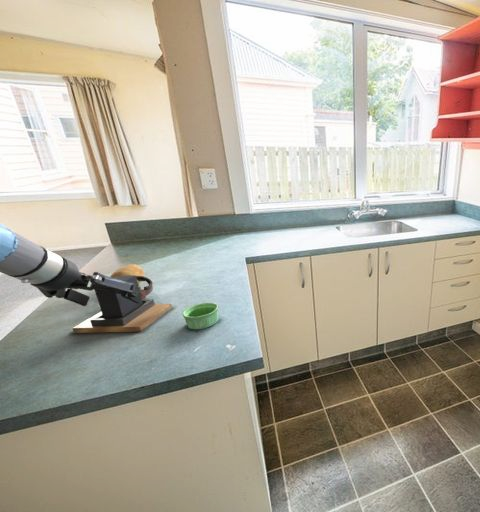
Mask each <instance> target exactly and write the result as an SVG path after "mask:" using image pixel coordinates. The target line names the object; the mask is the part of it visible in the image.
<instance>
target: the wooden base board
mask: <svg viewBox="0 0 480 512" xmlns="http://www.w3.org/2000/svg"><path fill="white" fill-rule="evenodd" d="M142 301H143V304H142V305H141V306H139V307H138V308H136V309H134V310H133V311H131V312H130V313H128V314H127V315H125V316H124V317H122V318H104V317H103V314H102V311H101V310H100V312H98V313H96V314H94V315H93V316H91V317H89V318H88V319H86V320H83V321H82V322H80V323H79V324H77V325H75V326H74V327H72V328H71V329H72V332H73V333H74V334H79V333H80V334H81V333H82V334H83V333H85V334H87V333H127V332H129V333H130V332H131V333H132V332H142V331H144V330H145V329H146V328H147V327H149V326H150V325H152V324H153V323H154V322H155V321H157V320H158V319H159V318H161V317H162V316H164V314H166V313H168V312H169V311H170V310H171V309H172V308H173V305H172V303H155V301H154V298H153V299H152V298H150V299H149V298H148V299H147V298H146V299H145V298H144V299H142Z"/></svg>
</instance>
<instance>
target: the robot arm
mask: <svg viewBox="0 0 480 512" xmlns="http://www.w3.org/2000/svg"><path fill="white" fill-rule="evenodd" d="M0 273H2V274H4V275H6V276H8V277H11V278H14V279H16V280H19V281H20V282H21V283H22V284H30V286H33V287H35V288H36V289H38V290H39V291H40V293H42V294H43V296H44V297H46V298H49V299H52V298H53V297H55V298H56V299H63V300H67V301H69V302H71V303H74V304H77V305H80V306H82V307H87V306H88V303H89V301H90V298H91V297H90V296H89V295H86V294H85V293H82V292H80V291H77V290H84V291H89V292H91V291H95V290H100V291H106V292H111V293H117V294H121V296H122V297H123V298H126V299H128V300H131V301H133V302H135V303H140V300H141V296H142V294H140V293H139V292H137V291H135V287H136V284H133V283H129V282H126V281H122V280H119V279H115V278H112V277H110V276H108V275H105V274H103V273H100V272H98V271H94V272H93V273H92V275H90V274H86V273H84V272H81V271H80V270H79V268H78V266H77V265H76V264H75V263H74V262H73V261H72V260H68V259H67V258H65V257H63V256H61V255H59V254H58V253H55V252H54V251H51V250H50V249H47V248H46V247H44V246H42V245H39V244H37V243H35V242H33V241H32V240H30V239H28V238H26V237H24V236H23V235H21V234H19V233H18V232H16V231H14V230H12V229H11V228H10V227H8V226H6V225H4V224H3V223H1V222H0ZM89 283H90V286H88V285H89ZM94 289H95V290H94Z"/></svg>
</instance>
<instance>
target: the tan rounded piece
mask: <svg viewBox="0 0 480 512" xmlns="http://www.w3.org/2000/svg"><path fill="white" fill-rule="evenodd" d="M145 274H146V273H145V271H144V269H143V268H142V267H141V266H140V265H138V264H135V263H131V264H125V265H123V266H121V267H120V268H118V269H116V270H115V271H113V272H112V273H111V275H110V276H109V277H112V278H115V277H117V276H128V275H136V276H143V277H145ZM137 282H138V285H139V284H141V282H142V281H138V280H137Z"/></svg>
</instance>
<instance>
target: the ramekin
mask: <svg viewBox="0 0 480 512" xmlns="http://www.w3.org/2000/svg"><path fill="white" fill-rule="evenodd" d="M182 317H183V318H184V321H185V323H186V326H187V328H188V329H191V330H202V329H207V328H210V327H212V326H214V325H215V324H216V323H217V322H218V321H219V318H220V317H219V305H218V304H217V303H215V302H202V303H197V304H194V305H192V306H190V307H187V308H186V309H184V311H183V312H182Z"/></svg>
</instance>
